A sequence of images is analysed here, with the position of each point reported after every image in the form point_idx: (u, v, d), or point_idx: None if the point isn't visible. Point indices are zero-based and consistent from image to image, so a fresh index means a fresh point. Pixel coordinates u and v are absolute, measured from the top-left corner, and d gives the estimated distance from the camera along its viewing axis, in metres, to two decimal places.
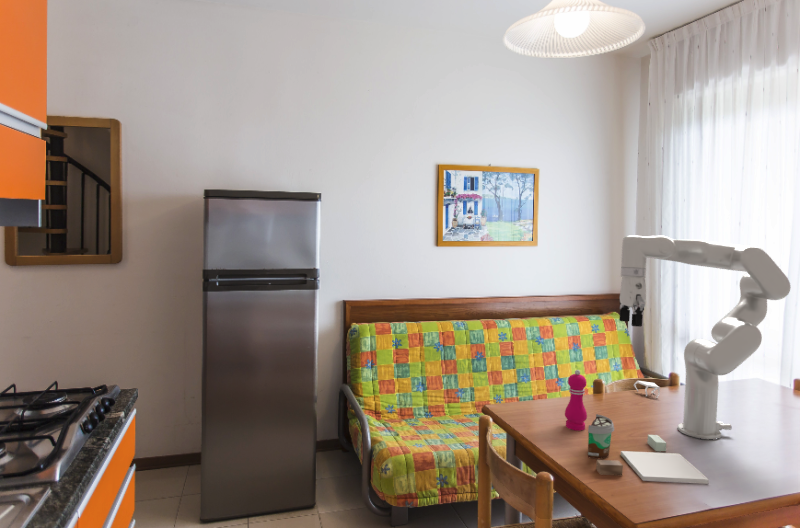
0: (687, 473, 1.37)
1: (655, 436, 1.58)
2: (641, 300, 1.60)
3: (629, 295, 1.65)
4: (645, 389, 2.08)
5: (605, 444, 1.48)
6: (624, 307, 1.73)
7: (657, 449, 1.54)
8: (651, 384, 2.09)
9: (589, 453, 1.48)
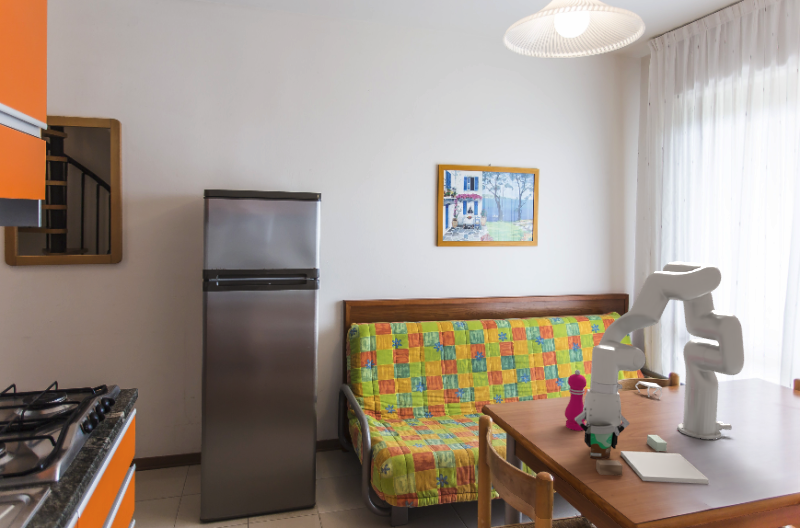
0: (687, 473, 1.37)
1: (655, 436, 1.58)
2: None
3: (617, 414, 1.48)
4: (647, 390, 2.07)
5: (607, 444, 1.48)
6: None
7: (658, 449, 1.54)
8: (653, 385, 2.08)
9: (592, 454, 1.48)
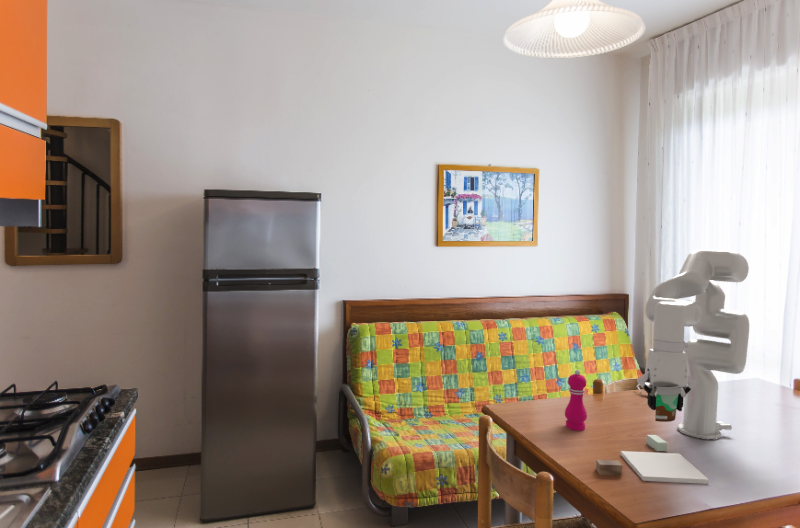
0: (687, 473, 1.37)
1: (654, 436, 1.58)
2: (692, 380, 1.40)
3: (683, 374, 1.38)
4: None
5: (673, 406, 1.38)
6: None
7: (658, 449, 1.54)
8: None
9: (657, 416, 1.38)
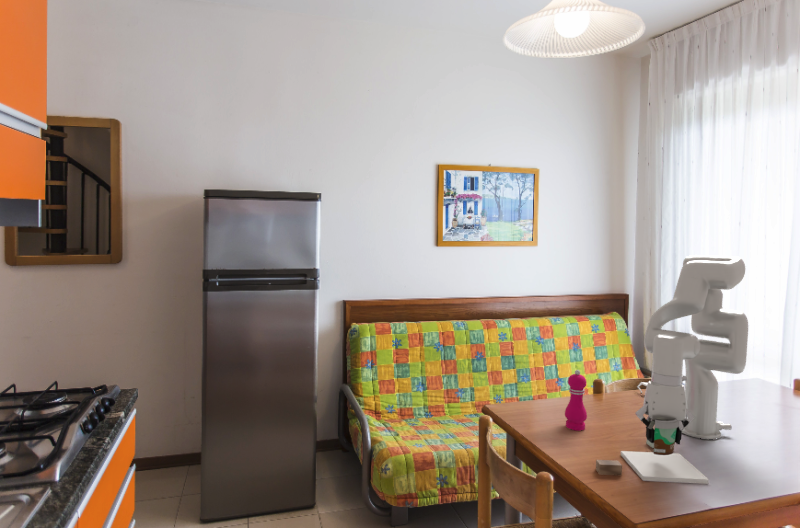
0: (687, 473, 1.37)
1: None
2: (690, 413, 1.41)
3: (681, 407, 1.39)
4: None
5: (672, 439, 1.39)
6: None
7: None
8: None
9: (655, 450, 1.39)
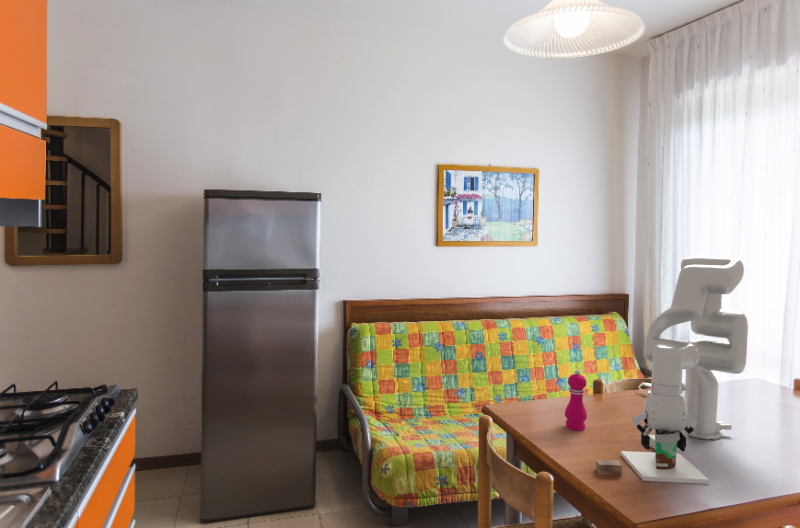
0: (687, 473, 1.37)
1: (654, 436, 1.58)
2: (692, 419, 1.41)
3: (681, 417, 1.39)
4: None
5: (673, 453, 1.39)
6: None
7: None
8: None
9: (658, 464, 1.39)
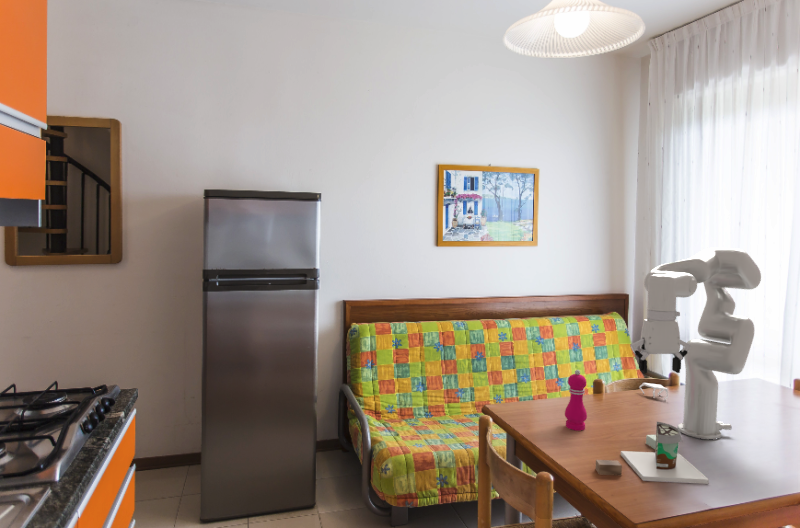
0: (687, 473, 1.37)
1: (654, 436, 1.58)
2: (686, 343, 1.50)
3: (676, 341, 1.48)
4: (653, 391, 2.05)
5: (674, 454, 1.39)
6: None
7: None
8: (658, 386, 2.06)
9: (658, 464, 1.39)
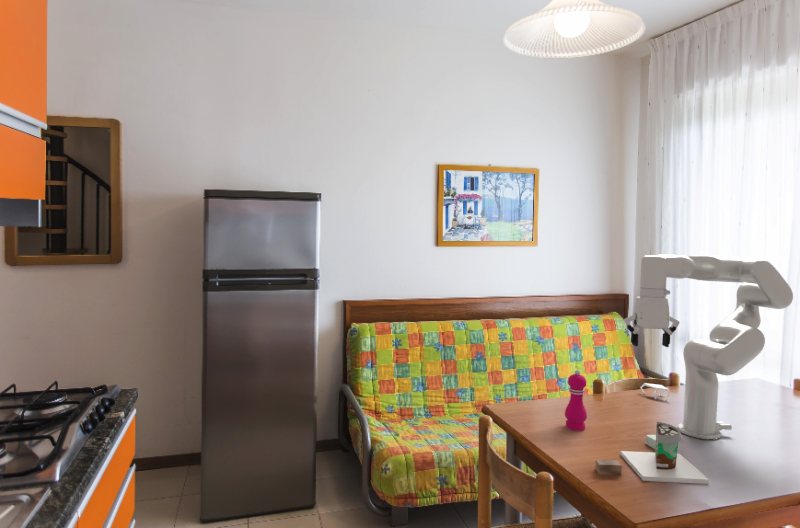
0: (687, 473, 1.37)
1: (654, 436, 1.58)
2: (675, 319, 1.62)
3: (665, 317, 1.60)
4: (654, 392, 2.04)
5: (674, 454, 1.39)
6: None
7: None
8: (659, 386, 2.06)
9: (658, 464, 1.39)
